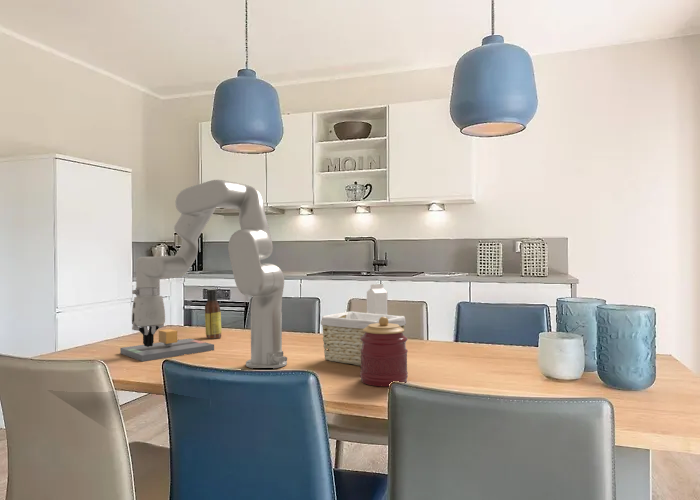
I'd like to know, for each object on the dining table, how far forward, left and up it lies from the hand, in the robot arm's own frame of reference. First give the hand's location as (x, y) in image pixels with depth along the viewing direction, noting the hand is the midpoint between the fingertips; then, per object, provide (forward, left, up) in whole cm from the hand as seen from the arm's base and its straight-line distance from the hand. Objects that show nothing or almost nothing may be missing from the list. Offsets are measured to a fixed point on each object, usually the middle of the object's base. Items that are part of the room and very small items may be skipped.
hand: (148, 345), depth 178 cm
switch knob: (0, -7, -1) cm, 7 cm away
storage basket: (-59, -45, -3) cm, 74 cm away
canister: (-81, -30, -3) cm, 86 cm away
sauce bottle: (+14, -33, -3) cm, 36 cm away
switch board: (0, -7, -3) cm, 8 cm away
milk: (-37, -76, -3) cm, 85 cm away
